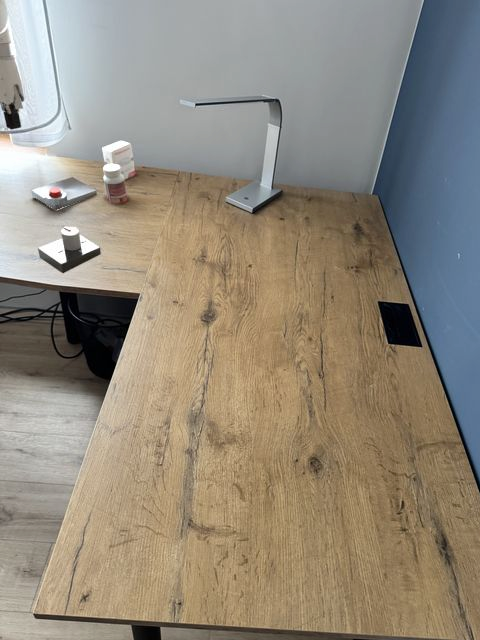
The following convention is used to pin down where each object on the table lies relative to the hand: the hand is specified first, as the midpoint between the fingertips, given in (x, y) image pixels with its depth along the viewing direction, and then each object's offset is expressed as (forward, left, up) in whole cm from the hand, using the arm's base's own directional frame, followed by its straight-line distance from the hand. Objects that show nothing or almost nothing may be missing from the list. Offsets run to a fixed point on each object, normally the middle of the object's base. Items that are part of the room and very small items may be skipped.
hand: (14, 127), depth 132 cm
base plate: (-6, -27, -24) cm, 37 cm away
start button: (+7, -2, -21) cm, 22 cm away
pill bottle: (+23, -11, -24) cm, 35 cm away
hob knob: (-5, -27, -21) cm, 35 cm away
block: (+13, +2, -24) cm, 28 cm away
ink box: (+34, 0, -24) cm, 42 cm away
